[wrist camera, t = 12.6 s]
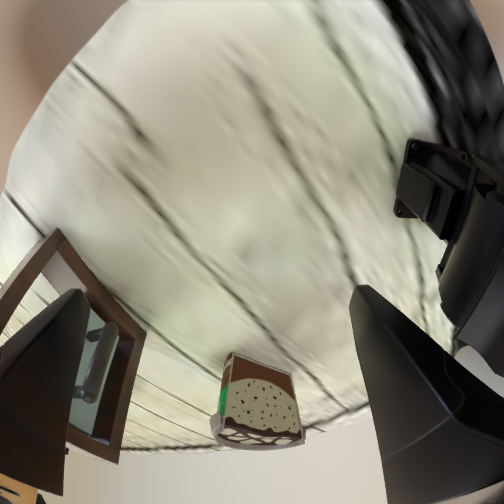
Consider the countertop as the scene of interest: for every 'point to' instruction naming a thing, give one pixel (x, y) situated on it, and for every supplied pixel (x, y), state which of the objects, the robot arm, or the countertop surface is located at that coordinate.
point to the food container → (256, 407)
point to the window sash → (93, 372)
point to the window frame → (103, 304)
